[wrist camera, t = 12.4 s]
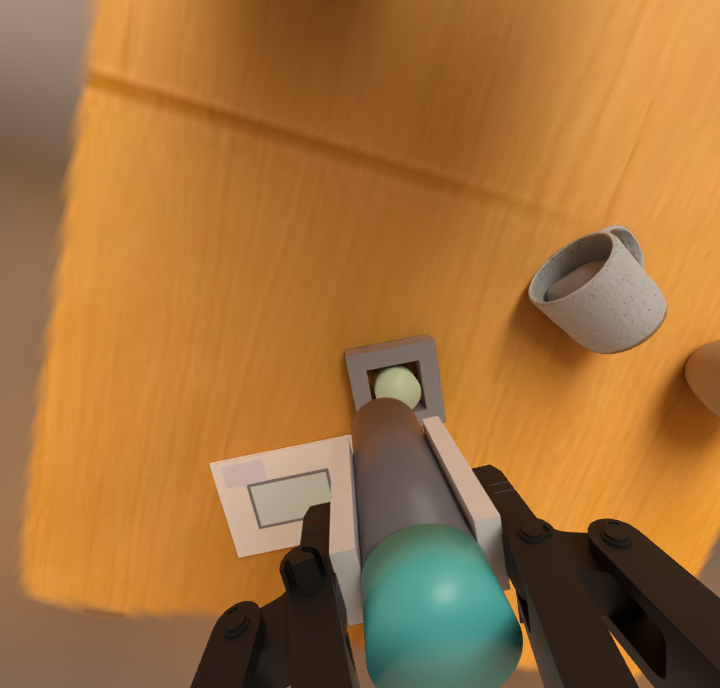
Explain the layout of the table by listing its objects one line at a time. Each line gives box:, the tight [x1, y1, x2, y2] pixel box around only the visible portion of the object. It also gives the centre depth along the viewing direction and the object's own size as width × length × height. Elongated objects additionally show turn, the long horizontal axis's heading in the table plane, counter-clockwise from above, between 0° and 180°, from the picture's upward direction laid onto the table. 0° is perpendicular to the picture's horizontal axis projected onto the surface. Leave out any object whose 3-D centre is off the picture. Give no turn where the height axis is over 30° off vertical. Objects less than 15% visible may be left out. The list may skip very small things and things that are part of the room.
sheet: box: [210, 434, 353, 558], centre depth 36 cm, size 11×14×1 cm
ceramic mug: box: [528, 225, 667, 354], centre depth 30 cm, size 11×8×8 cm
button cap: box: [373, 364, 421, 409], centre depth 33 cm, size 4×4×3 cm
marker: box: [351, 397, 523, 688], centre depth 14 cm, size 4×4×12 cm
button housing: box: [344, 334, 446, 427], centre depth 33 cm, size 8×8×2 cm
